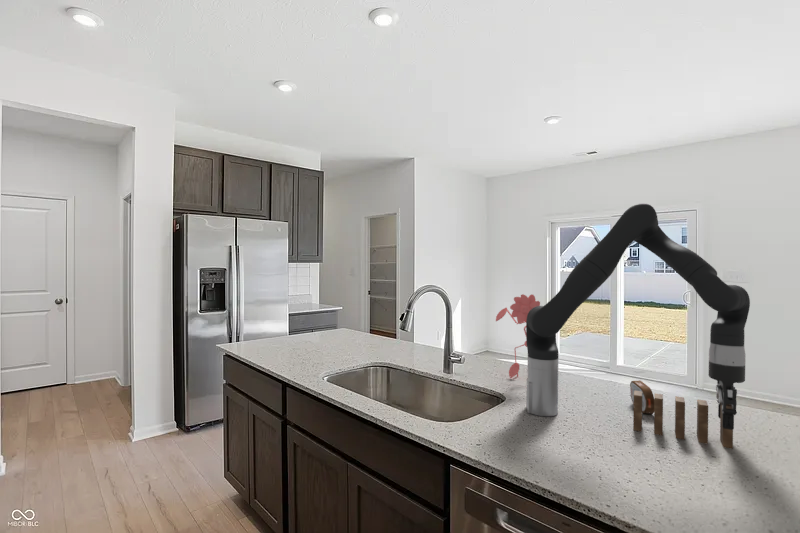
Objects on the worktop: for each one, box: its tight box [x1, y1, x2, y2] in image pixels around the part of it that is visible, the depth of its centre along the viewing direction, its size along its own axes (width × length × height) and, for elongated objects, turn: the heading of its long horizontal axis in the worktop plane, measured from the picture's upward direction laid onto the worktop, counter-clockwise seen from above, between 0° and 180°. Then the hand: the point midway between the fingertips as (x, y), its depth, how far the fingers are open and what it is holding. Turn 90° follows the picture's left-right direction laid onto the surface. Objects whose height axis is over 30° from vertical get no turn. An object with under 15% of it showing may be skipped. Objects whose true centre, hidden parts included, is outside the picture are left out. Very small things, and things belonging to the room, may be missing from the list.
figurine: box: [495, 293, 541, 379], centre depth 167 cm, size 15×26×35 cm, turn 61°
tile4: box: [696, 399, 709, 445], centre depth 112 cm, size 2×5×10 cm, turn 148°
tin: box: [629, 380, 654, 415], centre depth 136 cm, size 15×3×8 cm, turn 168°
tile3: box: [674, 396, 686, 441], centre depth 114 cm, size 2×5×10 cm, turn 149°
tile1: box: [632, 390, 643, 433], centre depth 120 cm, size 2×5×10 cm, turn 149°
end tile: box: [719, 405, 734, 450], centre depth 109 cm, size 2×5×10 cm, turn 149°
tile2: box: [653, 392, 664, 437], centre depth 117 cm, size 2×5×10 cm, turn 149°
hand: (725, 423), depth 109 cm, fingers open, 8 cm apart
